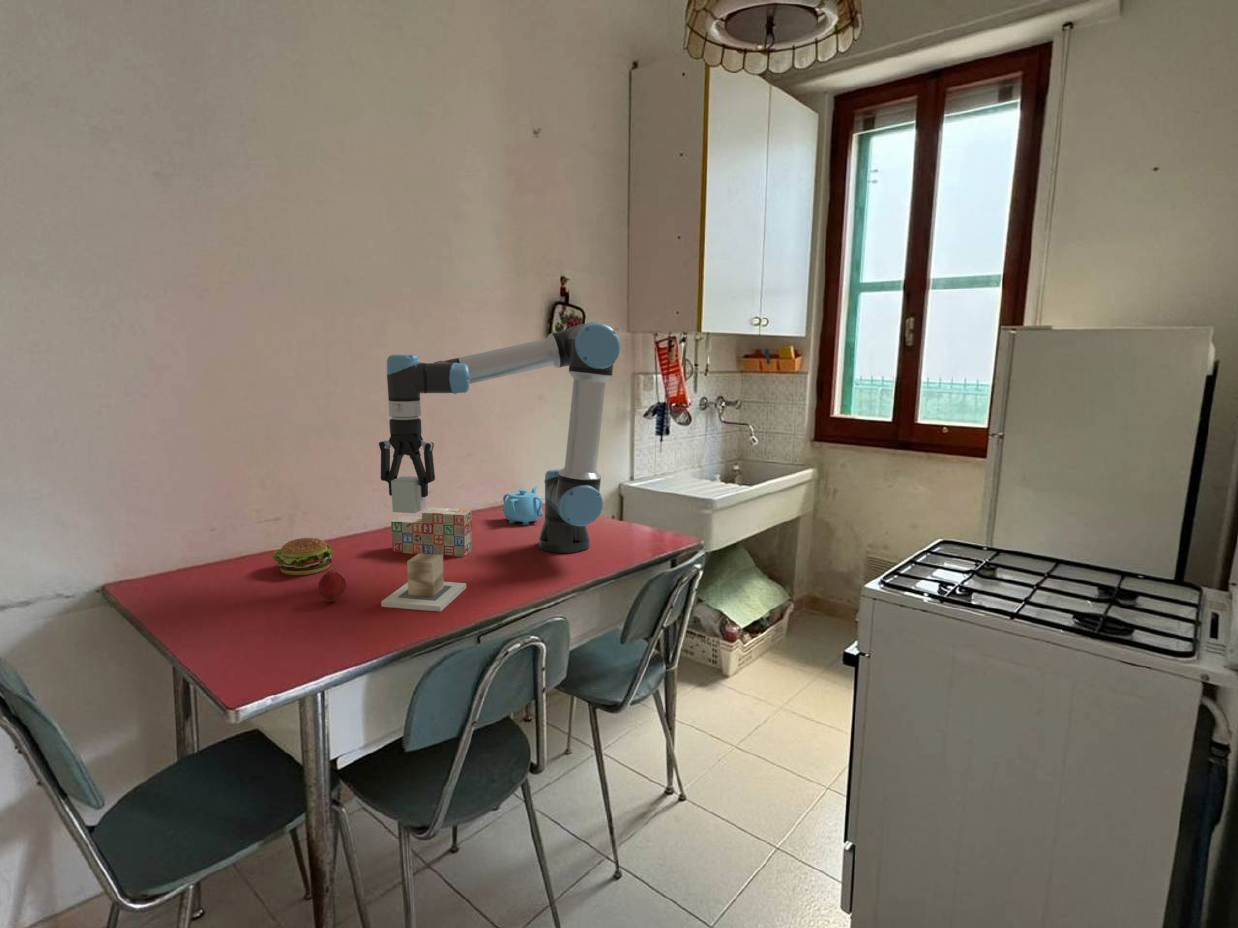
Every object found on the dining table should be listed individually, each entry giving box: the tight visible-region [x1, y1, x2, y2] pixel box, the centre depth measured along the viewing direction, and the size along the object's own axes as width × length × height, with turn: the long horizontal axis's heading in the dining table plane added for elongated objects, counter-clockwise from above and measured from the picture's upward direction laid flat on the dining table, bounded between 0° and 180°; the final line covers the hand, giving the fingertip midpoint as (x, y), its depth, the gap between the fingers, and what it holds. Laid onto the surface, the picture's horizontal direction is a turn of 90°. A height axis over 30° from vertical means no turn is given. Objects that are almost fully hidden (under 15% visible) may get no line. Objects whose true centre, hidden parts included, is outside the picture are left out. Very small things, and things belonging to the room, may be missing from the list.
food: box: [271, 537, 334, 576], centre depth 173 cm, size 14×14×8 cm
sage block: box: [391, 475, 427, 514], centre depth 169 cm, size 6×6×8 cm
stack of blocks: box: [390, 507, 473, 558], centre depth 190 cm, size 21×6×12 cm, turn 83°
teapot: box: [502, 486, 544, 526], centre depth 225 cm, size 13×14×11 cm
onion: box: [317, 567, 347, 603], centre depth 152 cm, size 6×6×8 cm
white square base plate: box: [380, 581, 467, 612], centre depth 156 cm, size 14×15×1 cm
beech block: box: [406, 554, 445, 597], centre depth 156 cm, size 6×6×8 cm
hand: (409, 508), depth 170 cm, fingers closed on sage block, 6 cm apart
